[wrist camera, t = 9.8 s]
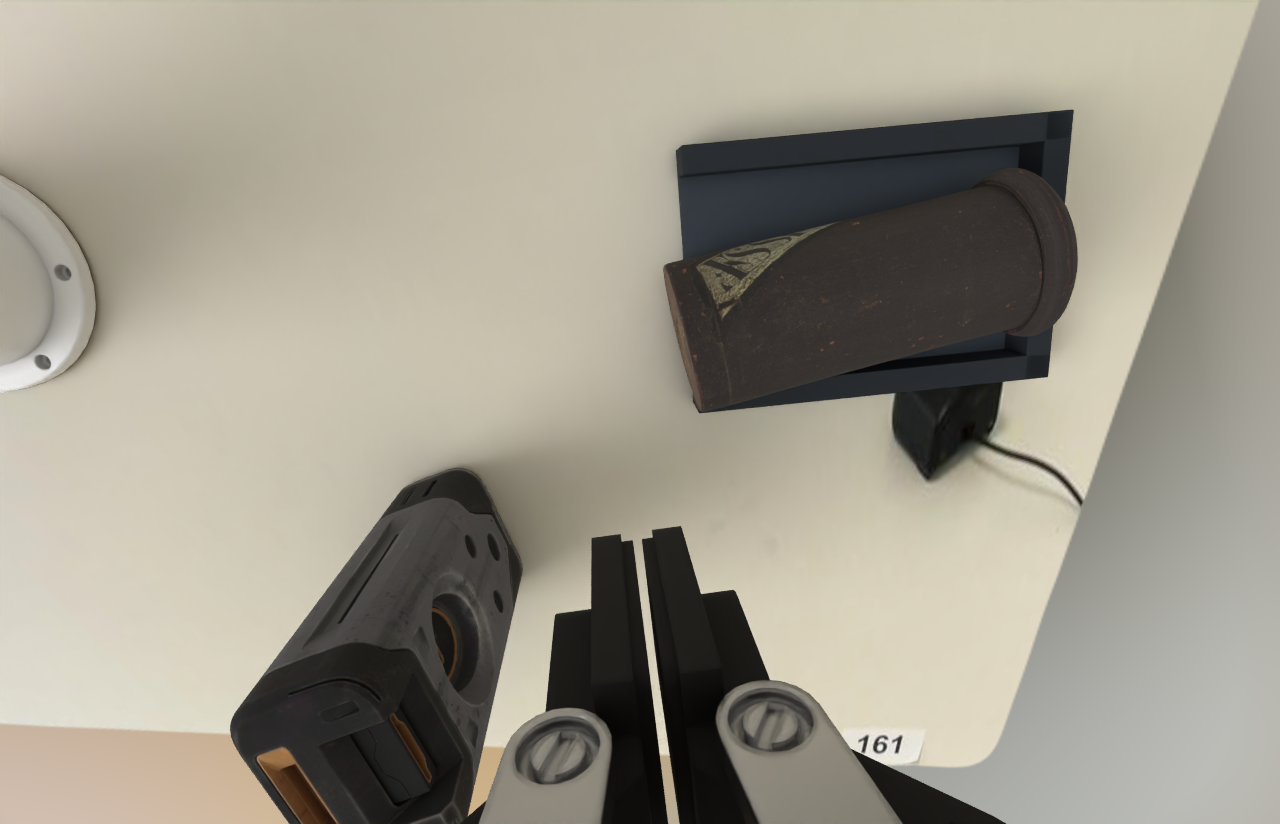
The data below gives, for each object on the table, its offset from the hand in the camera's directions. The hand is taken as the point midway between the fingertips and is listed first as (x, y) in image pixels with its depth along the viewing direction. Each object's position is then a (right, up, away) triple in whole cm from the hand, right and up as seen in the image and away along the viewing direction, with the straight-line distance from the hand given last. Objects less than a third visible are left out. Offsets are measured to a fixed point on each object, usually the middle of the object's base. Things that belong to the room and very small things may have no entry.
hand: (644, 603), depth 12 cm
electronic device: (-12, -5, +31) cm, 33 cm away
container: (+2, +7, +23) cm, 25 cm away
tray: (+13, +12, +27) cm, 32 cm away
